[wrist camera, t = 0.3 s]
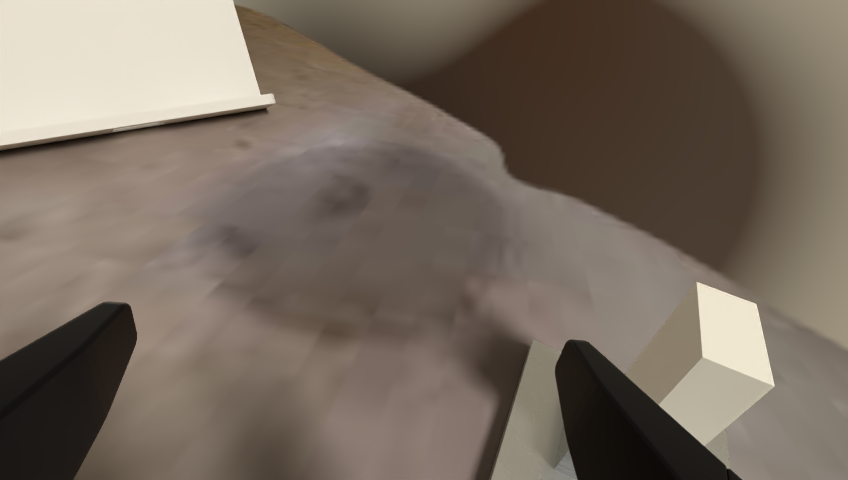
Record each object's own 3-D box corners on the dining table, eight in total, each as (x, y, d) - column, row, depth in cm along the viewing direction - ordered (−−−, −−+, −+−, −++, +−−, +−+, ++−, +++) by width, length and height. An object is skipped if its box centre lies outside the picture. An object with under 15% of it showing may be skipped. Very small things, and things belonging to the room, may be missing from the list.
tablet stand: (-54, 83, 44) (-173, -147, 33) (213, 58, 58) (191, -110, 47) (-36, 180, 35) (-195, -97, 24) (279, 122, 49) (271, -69, 38)
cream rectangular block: (640, 500, 23) (774, 386, 17) (591, 477, 24) (702, 357, 17) (643, 425, 27) (756, 304, 20) (600, 406, 27) (696, 281, 20)
